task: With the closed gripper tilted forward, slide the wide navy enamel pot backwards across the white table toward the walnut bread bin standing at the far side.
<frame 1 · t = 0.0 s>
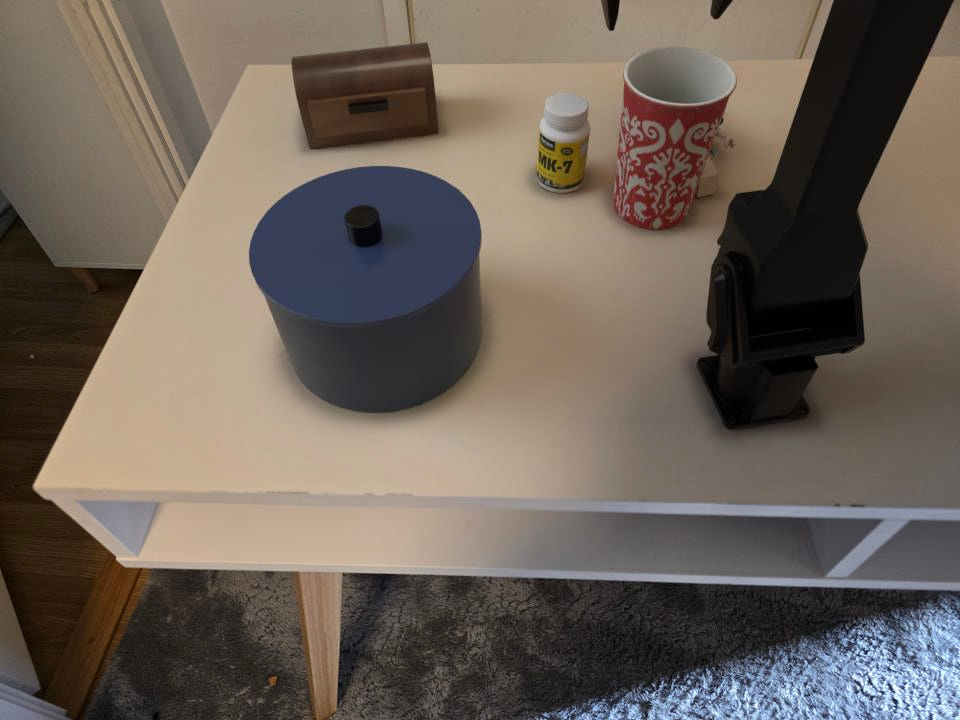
hand: (662, 22, 58), 15 cm above the table, tool pointing down, fingers open, 9 cm apart
supplement bottle: (560, 181, 69), on the table
pot: (386, 333, 56), on the table
toy figure: (686, 152, 71), on the table
mug: (649, 195, 67), on the table
bread bin: (372, 123, 76), on the table
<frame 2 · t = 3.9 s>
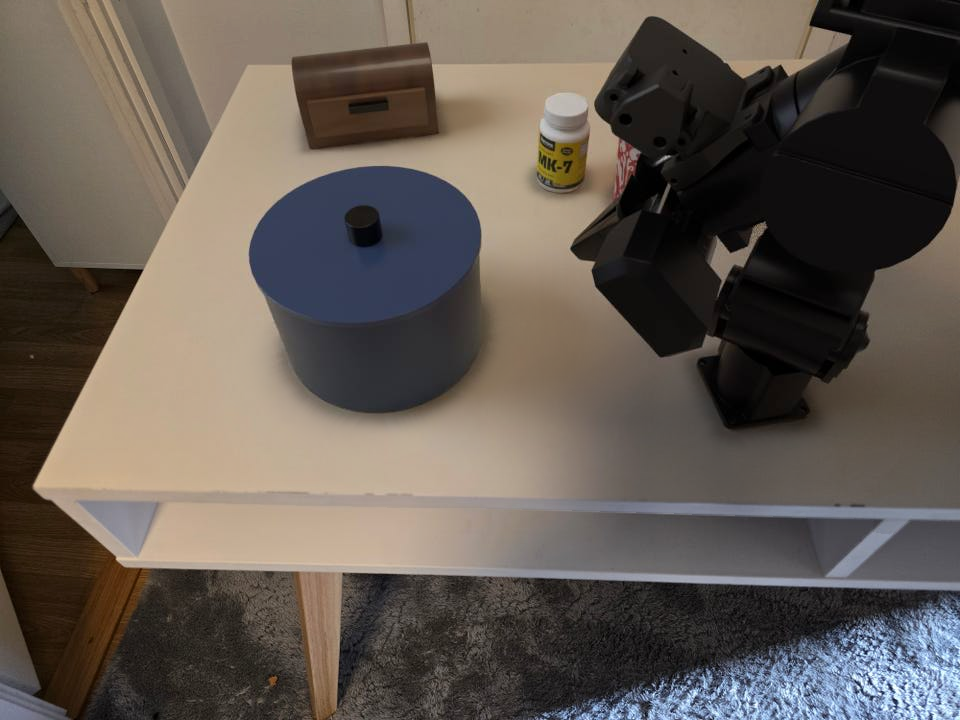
hand: (576, 250, 42), 14 cm above the table, tool tilted 45°, fingers closed
nothing on the table moved.
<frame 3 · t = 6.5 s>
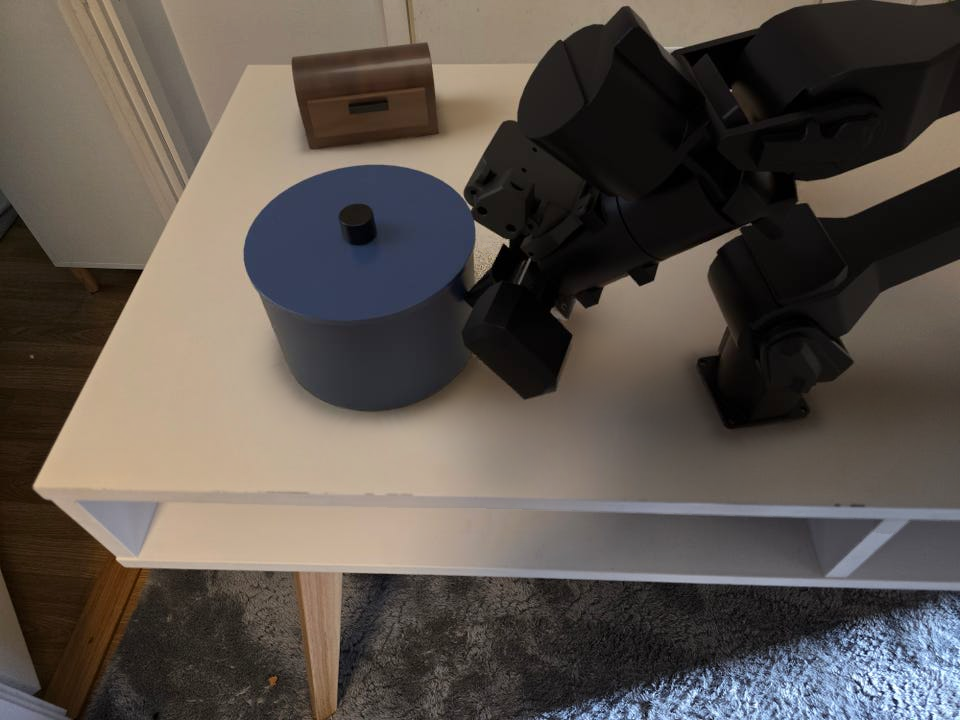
hand: (470, 301, 49), 7 cm above the table, tool tilted 45°, fingers closed, pressing on pot
pot: (381, 331, 57), on the table, touching gripper
everything else where it was.
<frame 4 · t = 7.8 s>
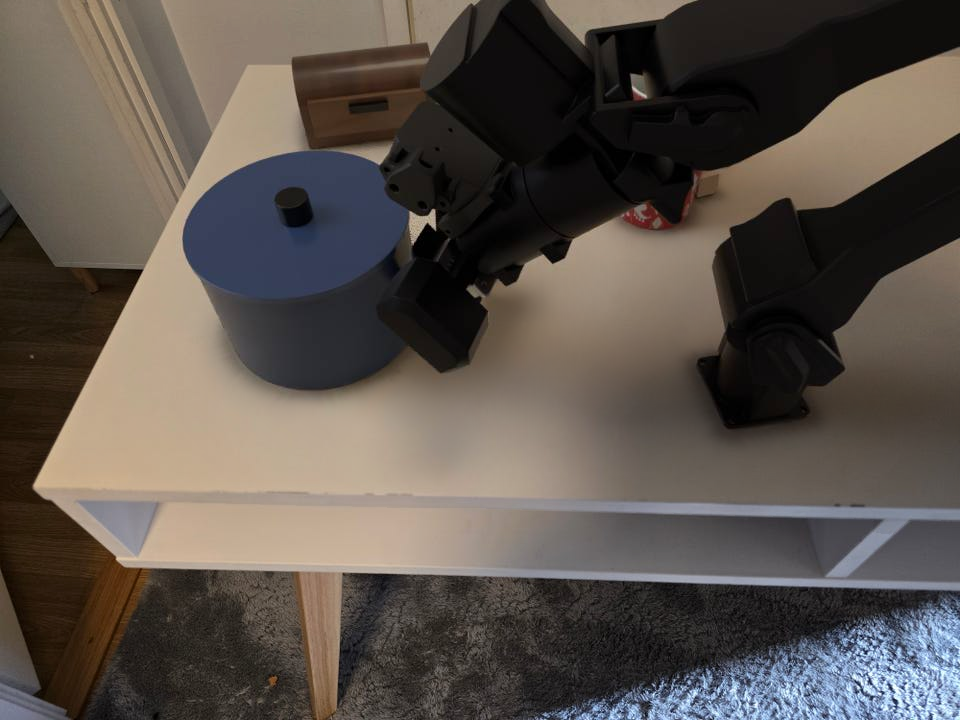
hand: (403, 281, 50), 7 cm above the table, tool tilted 45°, fingers closed, pressing on pot
pot: (326, 314, 58), on the table, touching gripper
everything else where it was.
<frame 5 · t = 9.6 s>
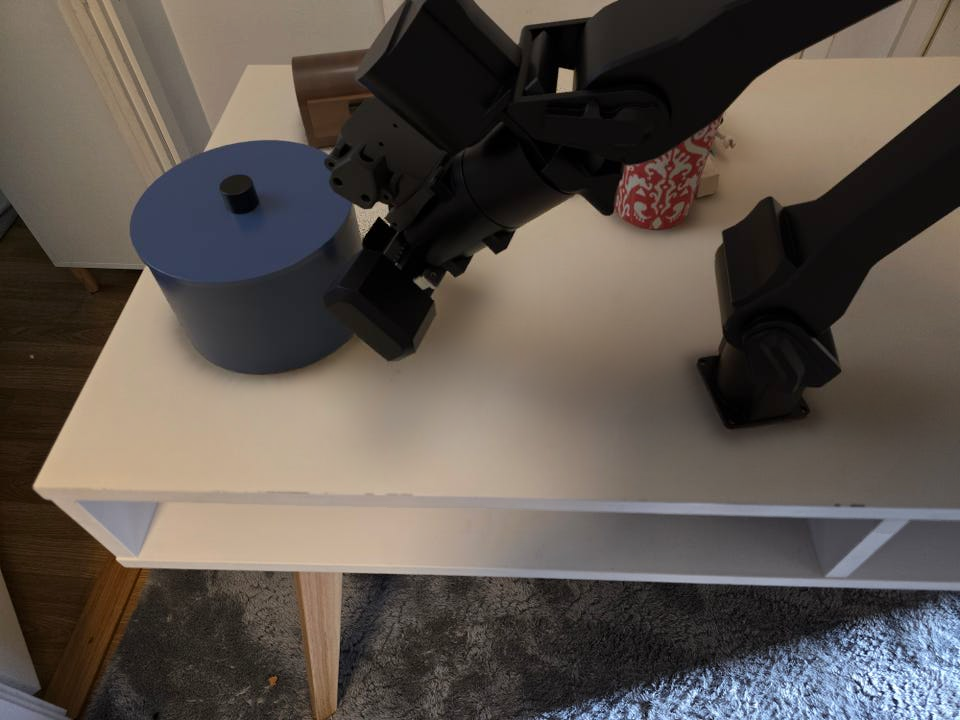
hand: (363, 274, 52), 6 cm above the table, tool tilted 45°, fingers closed
pot: (279, 301, 59), on the table
everything else where it was.
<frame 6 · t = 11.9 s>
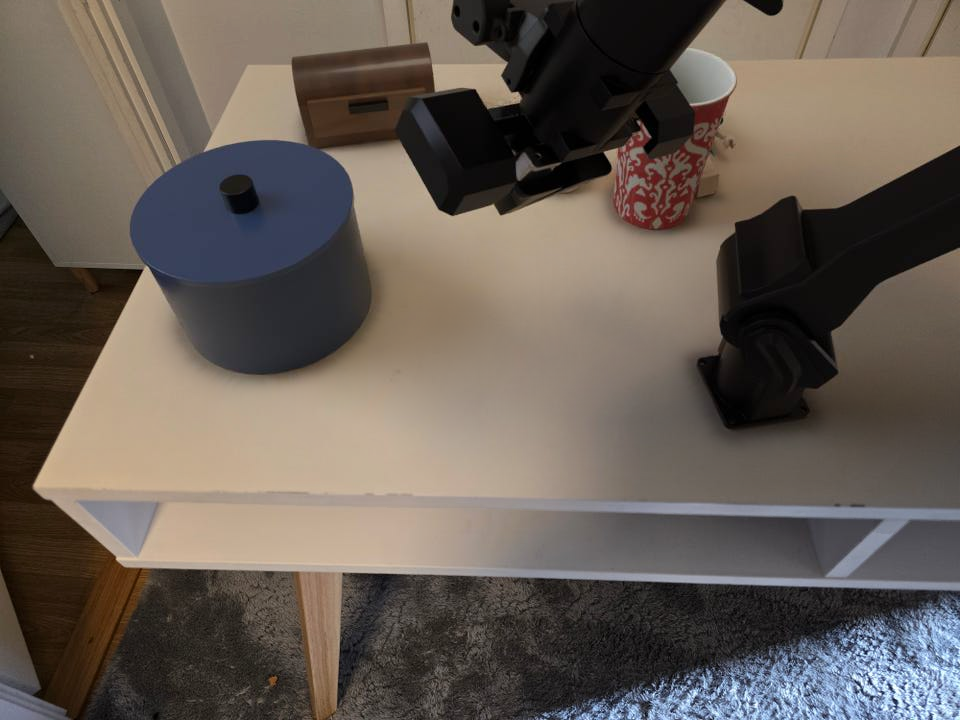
hand: (501, 208, 46), 13 cm above the table, tool tilted 25°, fingers closed
nothing on the table moved.
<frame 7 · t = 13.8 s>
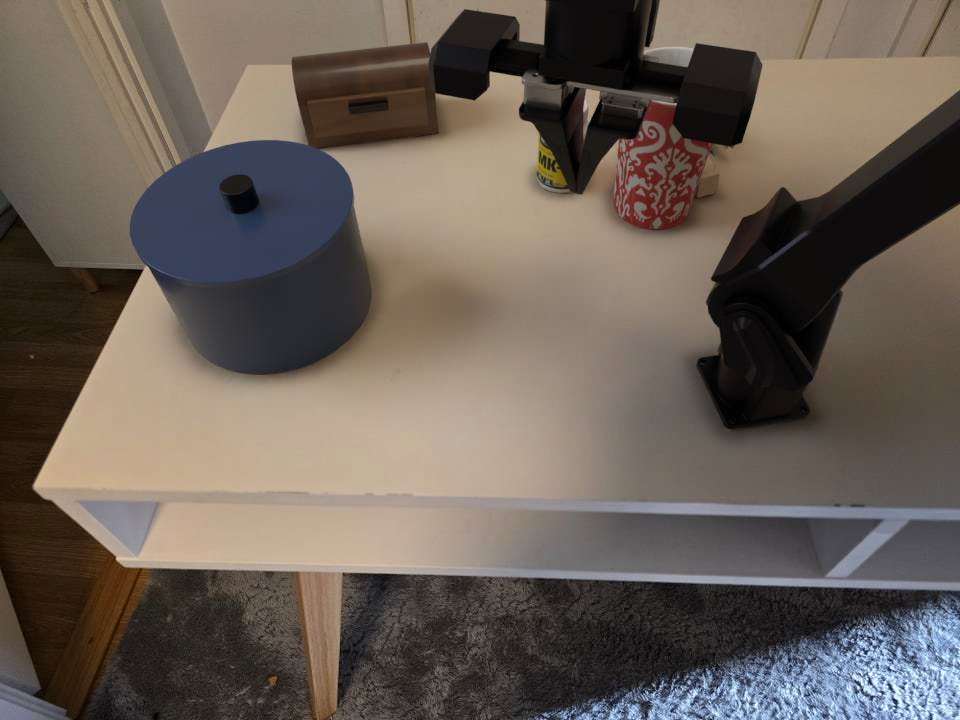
hand: (578, 190, 47), 13 cm above the table, tool pointing down, fingers closed
nothing on the table moved.
at the end: pot inside the target area (0.4 cm from its centre), on the table; pot 27.4 cm from the bread bin (horizontally); pot tilted 0° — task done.
